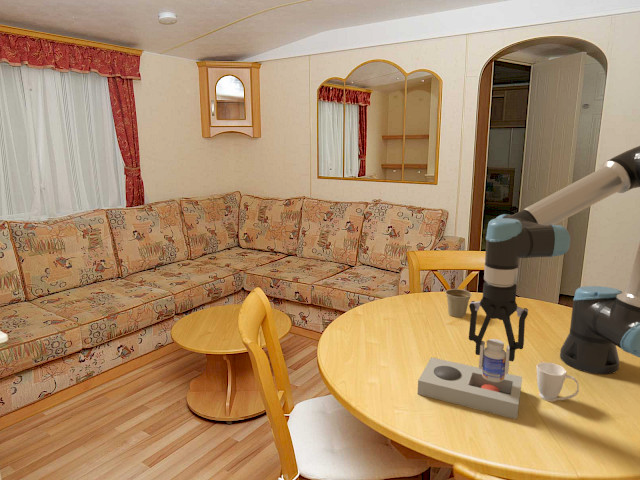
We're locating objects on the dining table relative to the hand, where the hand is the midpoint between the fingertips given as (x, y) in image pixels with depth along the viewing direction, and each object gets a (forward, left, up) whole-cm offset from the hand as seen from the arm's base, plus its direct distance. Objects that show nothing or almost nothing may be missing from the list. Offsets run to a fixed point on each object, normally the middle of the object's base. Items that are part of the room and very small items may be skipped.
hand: (493, 368), depth 115 cm
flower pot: (+18, -53, -8) cm, 56 cm away
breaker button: (0, 0, -7) cm, 7 cm away
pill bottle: (0, 0, -3) cm, 3 cm away
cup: (-15, -7, -8) cm, 18 cm away
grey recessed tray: (+5, 0, -8) cm, 10 cm away
